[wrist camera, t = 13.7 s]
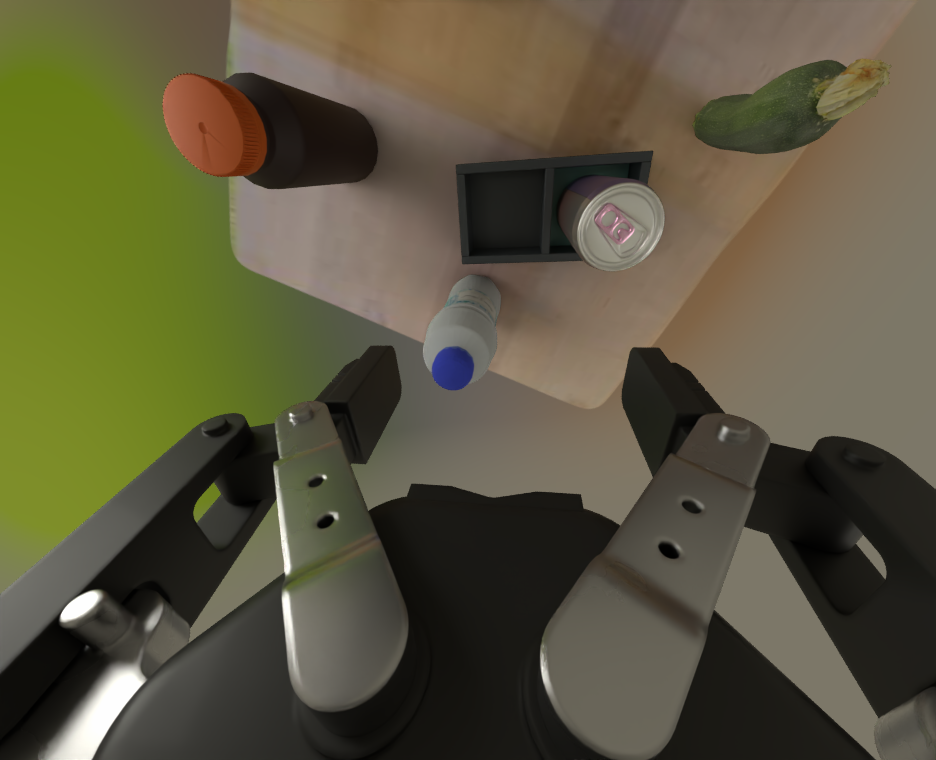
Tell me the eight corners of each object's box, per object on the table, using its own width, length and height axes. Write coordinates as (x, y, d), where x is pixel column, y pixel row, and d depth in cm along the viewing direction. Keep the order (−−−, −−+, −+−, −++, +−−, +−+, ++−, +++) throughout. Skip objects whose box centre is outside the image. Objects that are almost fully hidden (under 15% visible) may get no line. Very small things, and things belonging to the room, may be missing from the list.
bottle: (514, 288, 43) (509, 368, 26) (485, 330, 46) (464, 424, 29) (467, 258, 41) (431, 321, 25) (441, 303, 45) (393, 385, 28)
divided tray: (463, 164, 36) (455, 164, 32) (637, 152, 34) (653, 150, 30) (468, 254, 41) (462, 264, 37) (621, 249, 39) (633, 259, 34)
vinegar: (386, 176, 38) (279, 183, 21) (331, 187, 39) (189, 202, 22) (367, 98, 35) (221, 33, 18) (307, 114, 36) (119, 67, 19)
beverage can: (587, 160, 34) (627, 156, 21) (628, 203, 35) (687, 223, 23) (543, 212, 37) (556, 236, 24) (582, 250, 38) (613, 291, 25)
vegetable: (733, 134, 32) (963, 100, 16) (685, 168, 34) (845, 170, 17) (715, 87, 31) (949, -8, 14) (666, 125, 33) (821, 82, 16)
